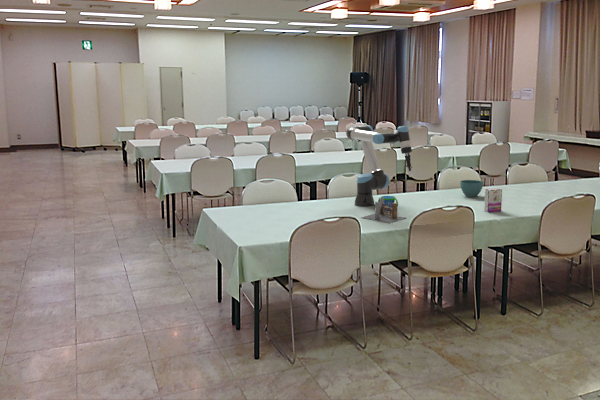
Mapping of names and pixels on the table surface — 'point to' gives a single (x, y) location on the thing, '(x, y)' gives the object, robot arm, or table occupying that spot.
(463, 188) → the teal bowl
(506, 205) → the table surface
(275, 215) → the table surface
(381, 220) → the mat
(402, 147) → the robot arm
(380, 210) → the hinge post
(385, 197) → the snack cup
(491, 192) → the candy bar box
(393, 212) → the gate
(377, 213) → the post
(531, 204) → the table surface
